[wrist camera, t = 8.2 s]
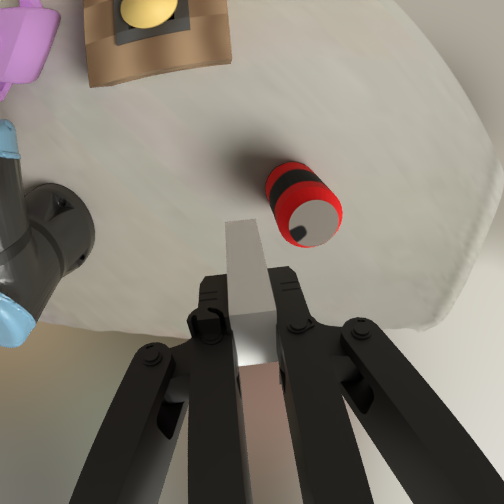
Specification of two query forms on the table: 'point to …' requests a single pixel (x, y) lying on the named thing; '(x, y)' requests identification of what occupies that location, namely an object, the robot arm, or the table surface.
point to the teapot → (25, 42)
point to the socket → (154, 41)
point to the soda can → (302, 205)
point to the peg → (148, 12)
